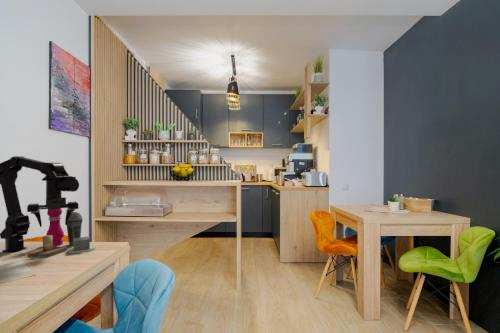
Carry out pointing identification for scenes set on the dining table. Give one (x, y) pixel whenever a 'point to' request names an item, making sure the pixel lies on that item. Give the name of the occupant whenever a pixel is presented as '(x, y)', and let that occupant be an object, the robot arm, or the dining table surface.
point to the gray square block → (81, 243)
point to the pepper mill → (55, 226)
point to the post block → (47, 248)
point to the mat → (81, 250)
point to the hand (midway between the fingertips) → (53, 225)
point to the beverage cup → (74, 226)
